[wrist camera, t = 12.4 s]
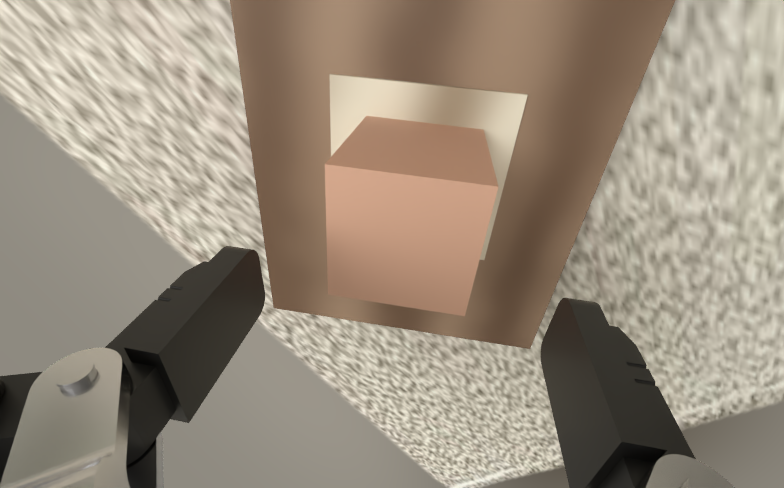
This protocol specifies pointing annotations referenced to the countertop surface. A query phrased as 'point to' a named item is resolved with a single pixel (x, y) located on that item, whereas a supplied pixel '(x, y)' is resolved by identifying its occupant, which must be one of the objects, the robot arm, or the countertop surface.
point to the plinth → (446, 107)
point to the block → (408, 213)
